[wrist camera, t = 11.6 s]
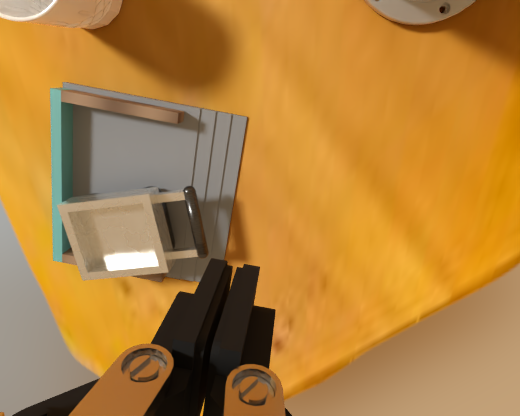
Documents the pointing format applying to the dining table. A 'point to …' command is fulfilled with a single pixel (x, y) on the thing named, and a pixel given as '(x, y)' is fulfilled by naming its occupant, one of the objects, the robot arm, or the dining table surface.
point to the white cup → (62, 12)
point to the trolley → (129, 232)
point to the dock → (145, 162)
